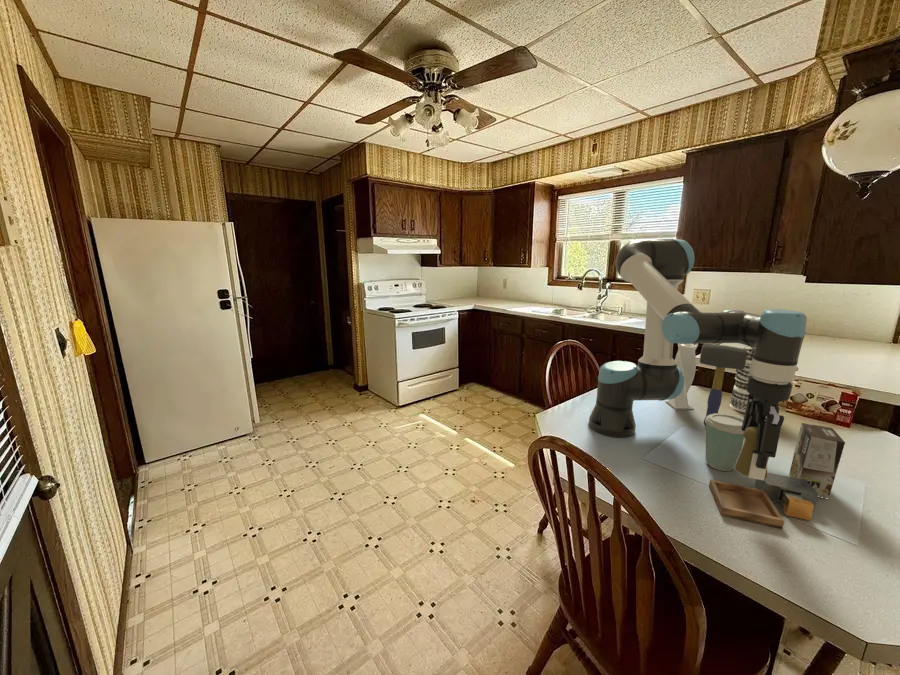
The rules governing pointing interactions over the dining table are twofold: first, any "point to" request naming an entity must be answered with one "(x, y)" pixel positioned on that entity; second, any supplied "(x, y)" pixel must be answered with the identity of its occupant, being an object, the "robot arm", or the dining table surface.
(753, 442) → the cork
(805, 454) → the coffee box
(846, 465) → the dining table surface
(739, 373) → the white patterned cylinder
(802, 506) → the orange and gray block
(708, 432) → the disposable coffee cup
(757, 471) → the robot arm
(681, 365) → the skyscraper
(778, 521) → the tray
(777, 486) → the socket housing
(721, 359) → the rubber mallet
